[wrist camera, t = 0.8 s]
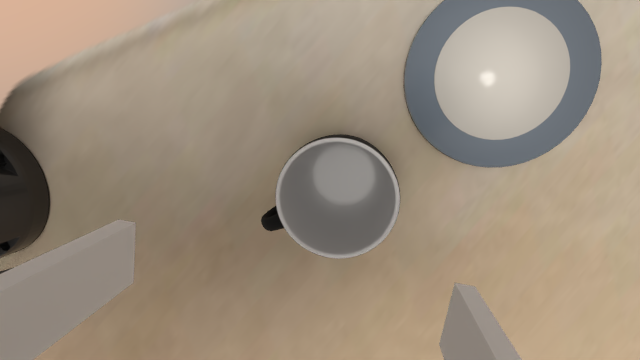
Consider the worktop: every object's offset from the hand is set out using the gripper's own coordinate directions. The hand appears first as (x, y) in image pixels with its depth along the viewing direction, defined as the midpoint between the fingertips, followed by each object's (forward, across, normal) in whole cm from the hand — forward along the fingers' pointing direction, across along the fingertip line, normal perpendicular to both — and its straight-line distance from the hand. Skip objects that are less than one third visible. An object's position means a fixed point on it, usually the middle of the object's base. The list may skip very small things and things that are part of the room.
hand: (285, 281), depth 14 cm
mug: (+22, 0, 0) cm, 22 cm away
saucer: (+21, +13, +12) cm, 28 cm away
